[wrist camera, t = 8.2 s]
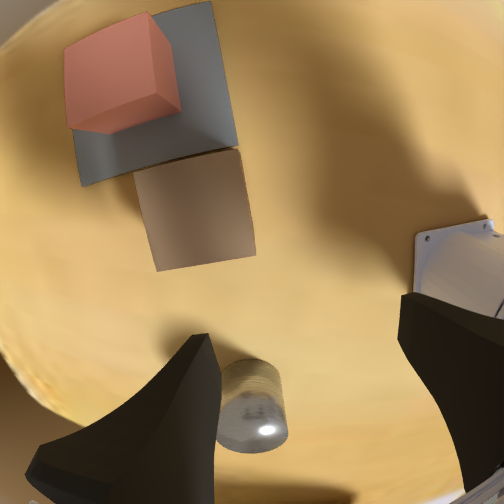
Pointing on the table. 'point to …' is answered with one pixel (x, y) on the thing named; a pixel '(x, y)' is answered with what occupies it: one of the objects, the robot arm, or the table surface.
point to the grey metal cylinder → (251, 408)
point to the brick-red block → (120, 77)
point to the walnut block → (196, 210)
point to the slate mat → (176, 125)
